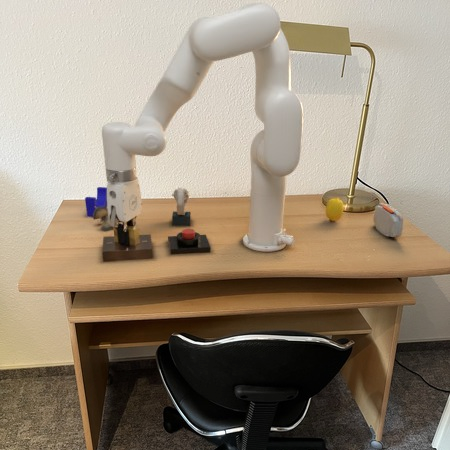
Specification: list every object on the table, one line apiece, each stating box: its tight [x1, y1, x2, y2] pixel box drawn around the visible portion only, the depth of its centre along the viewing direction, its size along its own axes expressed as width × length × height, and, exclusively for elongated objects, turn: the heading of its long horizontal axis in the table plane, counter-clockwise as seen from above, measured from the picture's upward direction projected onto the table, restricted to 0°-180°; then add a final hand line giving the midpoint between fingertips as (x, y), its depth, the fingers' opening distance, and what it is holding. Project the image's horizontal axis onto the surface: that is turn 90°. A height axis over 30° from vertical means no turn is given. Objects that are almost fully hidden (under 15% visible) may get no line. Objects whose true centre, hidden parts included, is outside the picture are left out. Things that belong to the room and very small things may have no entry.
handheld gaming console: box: [372, 202, 404, 238], centre depth 149 cm, size 14×3×8 cm, turn 12°
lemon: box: [325, 196, 344, 222], centre depth 157 cm, size 6×6×8 cm
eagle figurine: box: [92, 206, 113, 232], centre depth 150 cm, size 8×7×9 cm
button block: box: [167, 231, 211, 256], centre depth 138 cm, size 11×9×4 cm
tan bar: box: [112, 222, 140, 246], centre depth 132 cm, size 6×2×5 cm, turn 69°
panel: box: [101, 233, 154, 263], centre depth 134 cm, size 13×11×3 cm
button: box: [181, 228, 196, 239], centre depth 137 cm, size 4×4×2 cm
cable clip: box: [84, 186, 107, 218], centre depth 161 cm, size 12×4×6 cm, turn 172°
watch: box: [171, 187, 192, 227], centre depth 152 cm, size 6×8×11 cm
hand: (127, 241), depth 133 cm, fingers closed on tan bar, 2 cm apart
